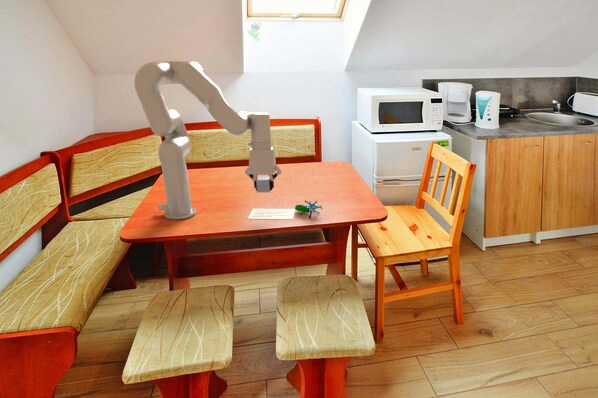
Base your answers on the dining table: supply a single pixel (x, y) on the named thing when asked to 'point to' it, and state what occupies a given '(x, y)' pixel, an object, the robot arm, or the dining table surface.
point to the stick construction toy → (307, 208)
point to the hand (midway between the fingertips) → (264, 189)
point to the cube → (263, 184)
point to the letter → (272, 214)
